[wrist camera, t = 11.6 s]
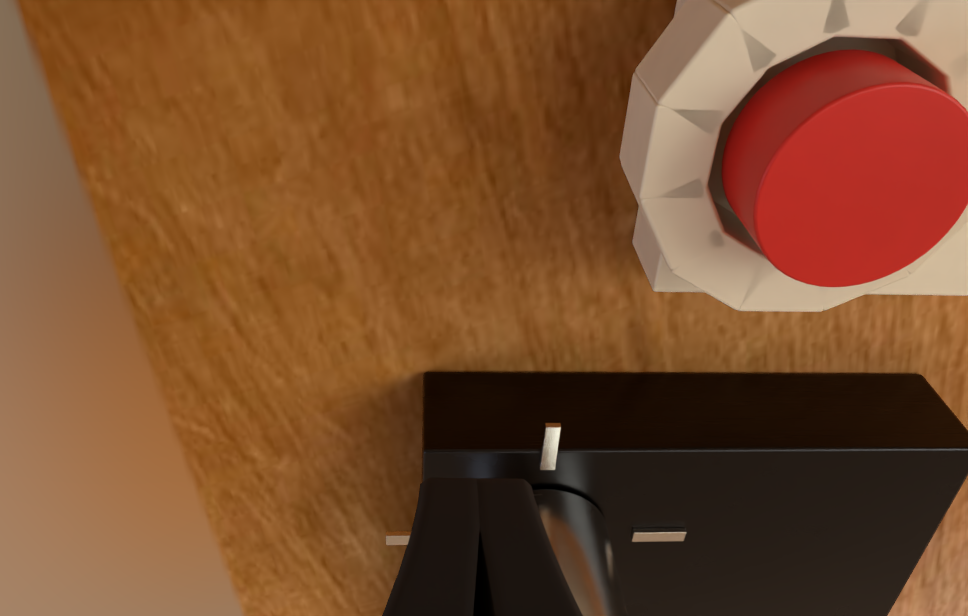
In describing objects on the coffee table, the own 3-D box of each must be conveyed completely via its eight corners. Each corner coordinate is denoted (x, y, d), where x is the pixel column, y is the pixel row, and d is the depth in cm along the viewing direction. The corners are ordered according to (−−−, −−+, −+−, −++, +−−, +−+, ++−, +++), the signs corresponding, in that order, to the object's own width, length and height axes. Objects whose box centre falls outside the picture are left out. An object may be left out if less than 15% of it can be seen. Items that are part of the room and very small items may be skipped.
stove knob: (595, 578, 21) (628, 738, 18) (464, 579, 21) (472, 742, 18) (616, 487, 19) (659, 646, 16) (472, 487, 19) (482, 650, 16)
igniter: (580, 242, 19) (612, 341, 16) (634, -138, 14) (696, -110, 11) (1018, 250, 20) (1136, 345, 16) (1198, -104, 15) (1410, -70, 12)
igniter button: (701, 237, 15) (731, 287, 13) (748, 43, 13) (788, 78, 11) (883, 240, 15) (930, 290, 14) (957, 52, 13) (1022, 87, 12)
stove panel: (394, 635, 27) (390, 725, 25) (388, 343, 20) (383, 427, 18) (801, 626, 29) (838, 711, 26) (934, 347, 21) (1004, 426, 19)
